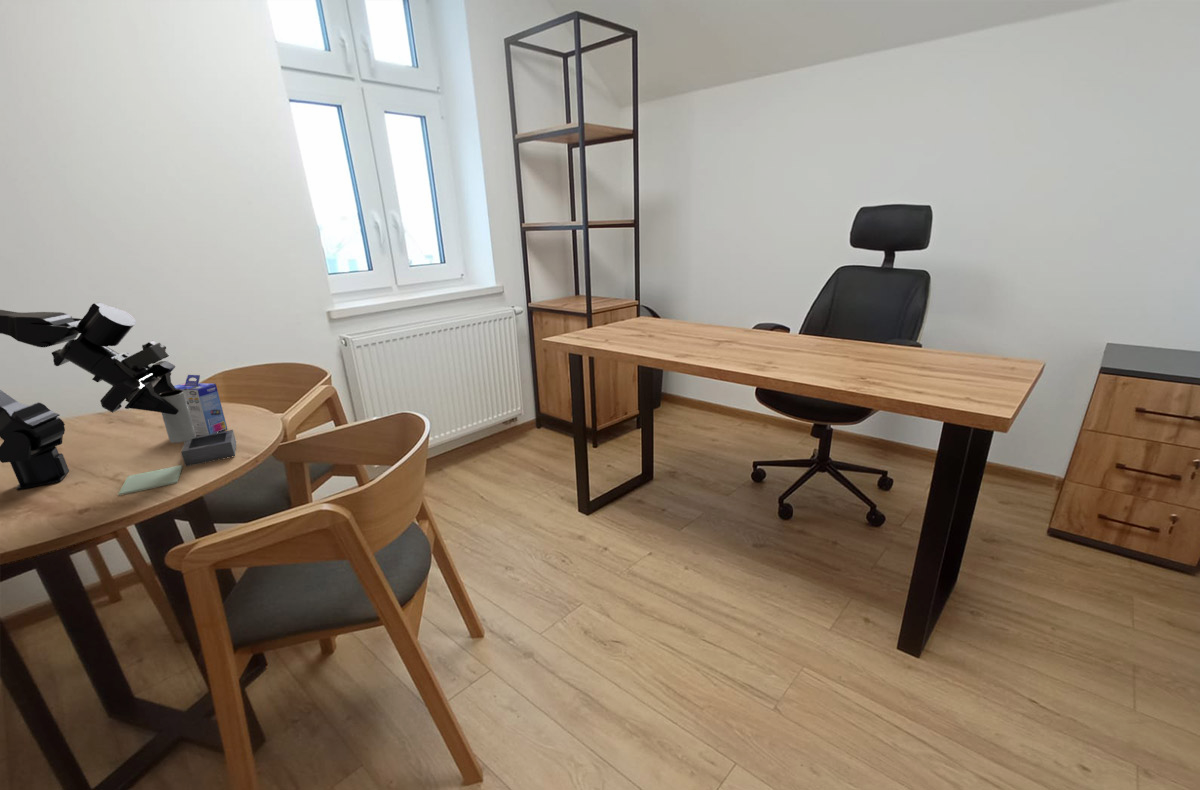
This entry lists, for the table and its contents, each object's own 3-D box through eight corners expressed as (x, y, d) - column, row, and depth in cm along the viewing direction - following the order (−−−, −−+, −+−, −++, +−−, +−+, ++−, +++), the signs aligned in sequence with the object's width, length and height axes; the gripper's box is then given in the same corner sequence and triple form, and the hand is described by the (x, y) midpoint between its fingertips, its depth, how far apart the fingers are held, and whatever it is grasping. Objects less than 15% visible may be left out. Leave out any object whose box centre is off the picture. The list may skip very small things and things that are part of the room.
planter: (194, 433, 115) (181, 388, 111) (198, 438, 112) (186, 392, 108) (168, 439, 112) (154, 393, 108) (171, 444, 109) (158, 397, 105)
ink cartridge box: (229, 428, 134) (214, 374, 129) (210, 436, 129) (194, 380, 124) (197, 426, 136) (182, 373, 131) (177, 434, 131) (160, 379, 126)
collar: (185, 466, 113) (181, 451, 111) (190, 452, 120) (186, 438, 119) (234, 456, 117) (230, 442, 116) (236, 443, 124) (232, 429, 123)
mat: (119, 495, 101) (118, 493, 101) (128, 477, 108) (128, 476, 108) (177, 482, 105) (176, 481, 105) (182, 466, 113) (182, 464, 112)
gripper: (102, 341, 95) (188, 393, 101) (152, 324, 112) (223, 369, 118) (62, 387, 95) (151, 436, 102) (118, 362, 112) (191, 406, 118)
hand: (182, 409), depth 110 cm, fingers closed on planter, 4 cm apart
